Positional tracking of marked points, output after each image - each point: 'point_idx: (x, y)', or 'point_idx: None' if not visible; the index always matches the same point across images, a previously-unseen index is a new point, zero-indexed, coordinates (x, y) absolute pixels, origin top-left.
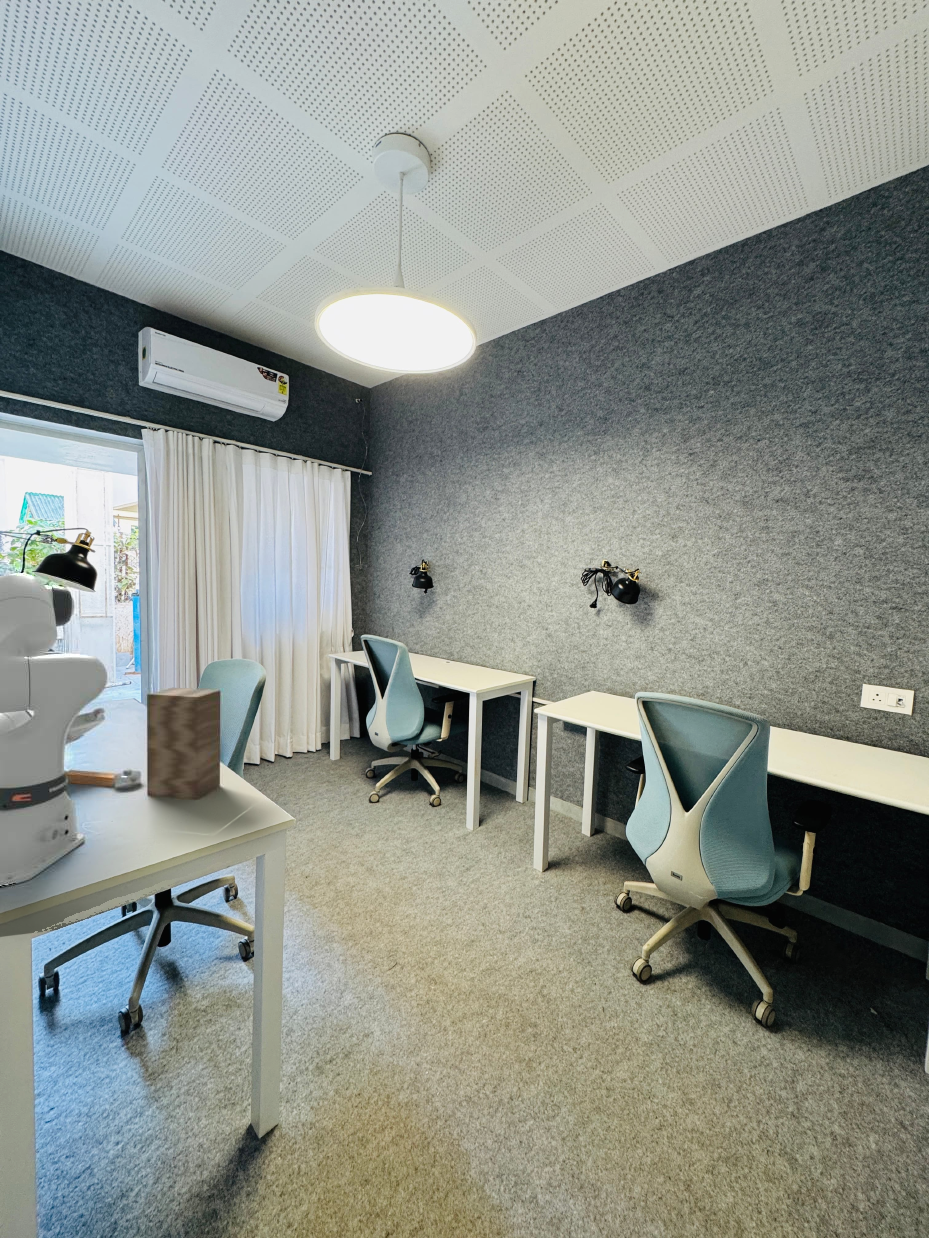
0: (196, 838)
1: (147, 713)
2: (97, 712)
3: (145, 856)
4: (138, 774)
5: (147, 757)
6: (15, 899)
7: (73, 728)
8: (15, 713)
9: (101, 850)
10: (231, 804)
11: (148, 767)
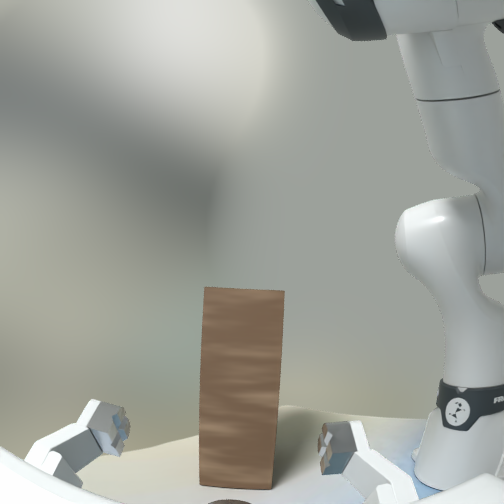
0: (344, 420)
1: (282, 334)
2: (118, 431)
3: (387, 423)
4: (225, 501)
5: (276, 427)
6: None
7: None
8: None
9: (407, 440)
10: None
11: (274, 444)
